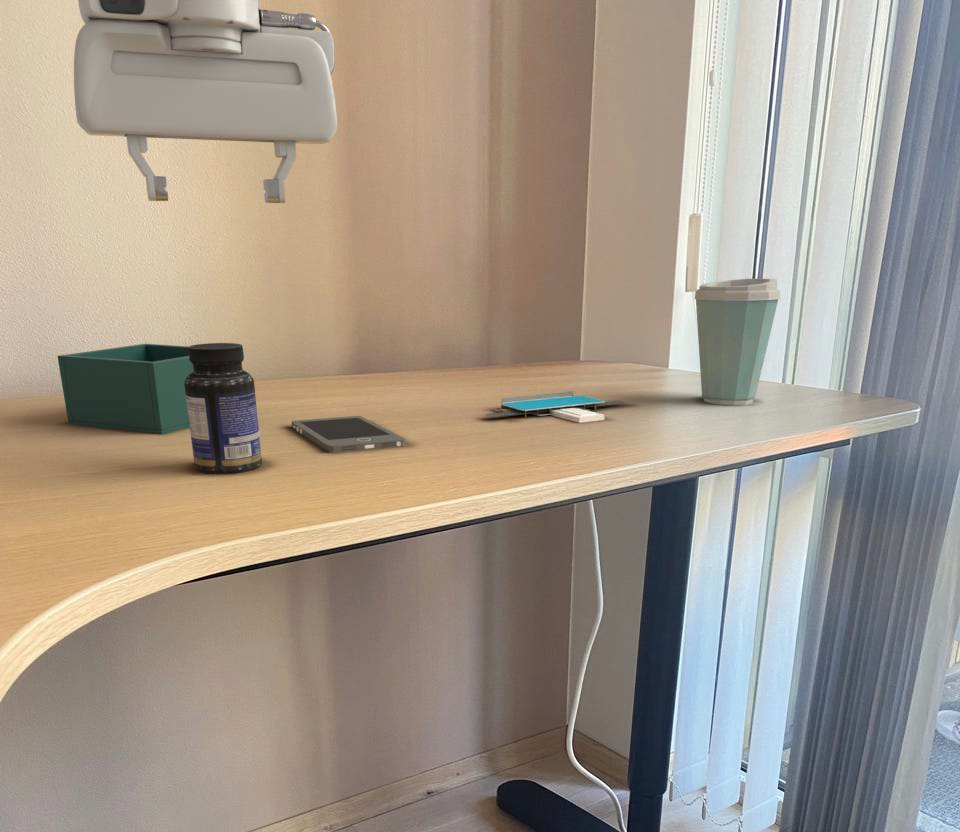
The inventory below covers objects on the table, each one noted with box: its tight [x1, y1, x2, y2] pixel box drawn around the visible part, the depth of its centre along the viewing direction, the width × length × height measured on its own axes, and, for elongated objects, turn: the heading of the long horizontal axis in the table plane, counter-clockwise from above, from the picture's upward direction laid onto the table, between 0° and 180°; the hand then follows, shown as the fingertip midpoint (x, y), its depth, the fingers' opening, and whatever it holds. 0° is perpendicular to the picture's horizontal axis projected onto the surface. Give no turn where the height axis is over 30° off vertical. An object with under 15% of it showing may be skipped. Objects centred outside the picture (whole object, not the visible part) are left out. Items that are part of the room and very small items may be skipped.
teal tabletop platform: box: [485, 390, 625, 424], centre depth 115 cm, size 20×12×2 cm, turn 121°
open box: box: [57, 343, 194, 435], centre depth 109 cm, size 14×14×8 cm
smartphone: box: [291, 415, 406, 454], centre depth 102 cm, size 15×8×1 cm, turn 25°
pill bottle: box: [184, 342, 263, 475], centre depth 87 cm, size 6×6×11 cm
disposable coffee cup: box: [693, 278, 781, 406], centre depth 121 cm, size 11×11×15 cm
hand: (218, 202), depth 79 cm, fingers open, 8 cm apart
